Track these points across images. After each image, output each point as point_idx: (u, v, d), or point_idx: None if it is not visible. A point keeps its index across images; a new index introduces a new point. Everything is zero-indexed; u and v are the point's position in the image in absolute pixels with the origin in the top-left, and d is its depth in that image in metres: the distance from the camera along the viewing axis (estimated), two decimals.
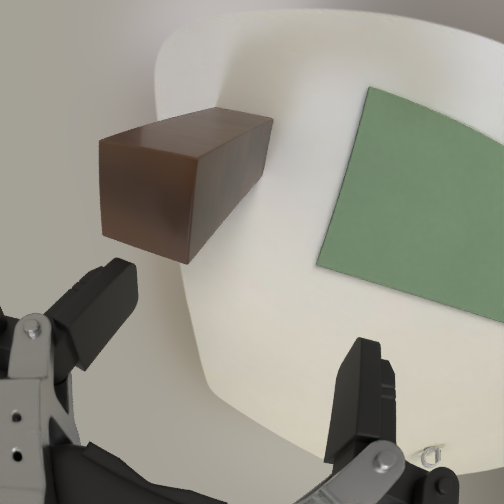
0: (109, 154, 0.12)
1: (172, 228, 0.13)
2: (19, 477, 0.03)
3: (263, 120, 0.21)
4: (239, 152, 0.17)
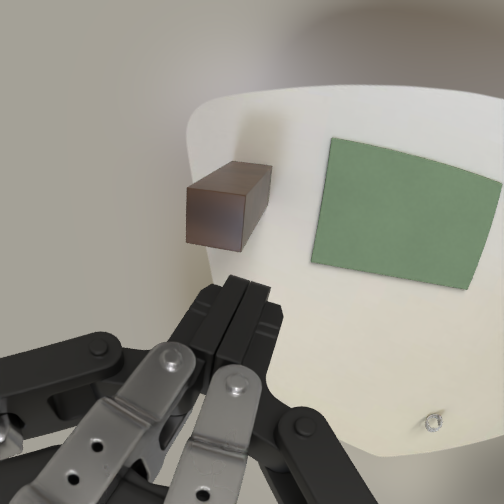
0: (194, 195, 0.25)
1: (232, 232, 0.26)
2: (61, 496, 0.03)
3: (266, 168, 0.35)
4: (258, 190, 0.30)
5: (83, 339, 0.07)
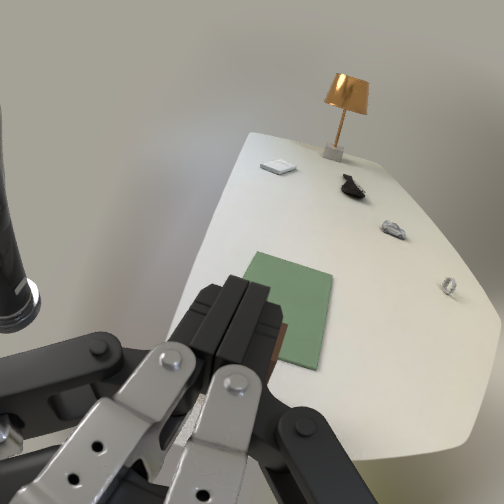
0: None
1: None
2: (61, 496, 0.03)
3: None
4: None
5: (83, 339, 0.07)
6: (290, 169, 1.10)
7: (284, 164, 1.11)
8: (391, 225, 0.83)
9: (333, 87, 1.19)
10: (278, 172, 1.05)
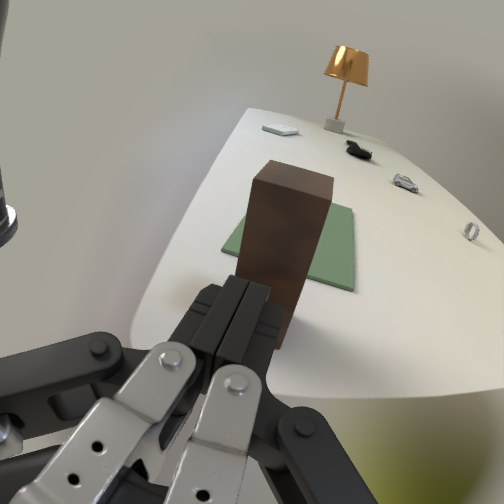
0: (264, 177, 0.19)
1: (311, 174, 0.22)
2: (61, 496, 0.03)
3: None
4: None
5: (83, 339, 0.07)
6: (293, 132, 1.03)
7: (286, 128, 1.04)
8: (403, 178, 0.76)
9: (333, 59, 1.13)
10: (281, 133, 0.97)
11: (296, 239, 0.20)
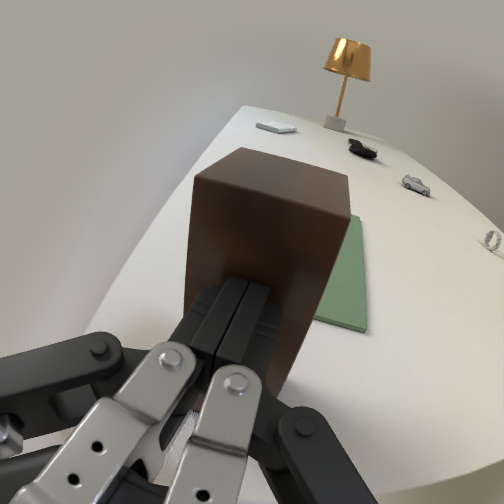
0: (218, 173, 0.10)
1: (309, 169, 0.13)
2: (61, 496, 0.03)
3: None
4: None
5: (83, 339, 0.07)
6: (290, 130, 0.94)
7: (283, 125, 0.95)
8: (413, 179, 0.66)
9: (333, 52, 1.04)
10: (277, 130, 0.88)
11: (280, 291, 0.11)
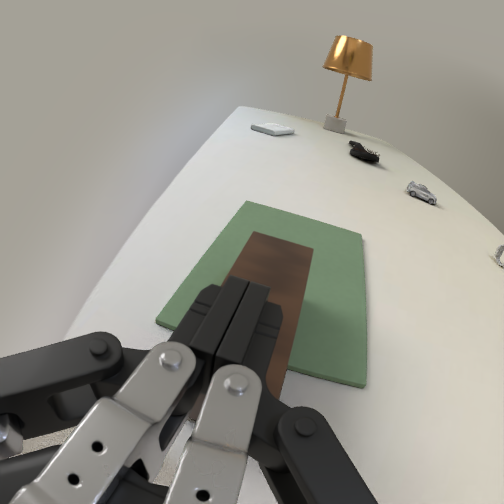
0: None
1: None
2: (61, 496, 0.03)
3: None
4: None
5: (83, 339, 0.07)
6: (287, 132, 0.89)
7: (280, 127, 0.90)
8: (419, 186, 0.61)
9: (333, 50, 0.99)
10: (273, 132, 0.83)
11: (289, 265, 0.22)
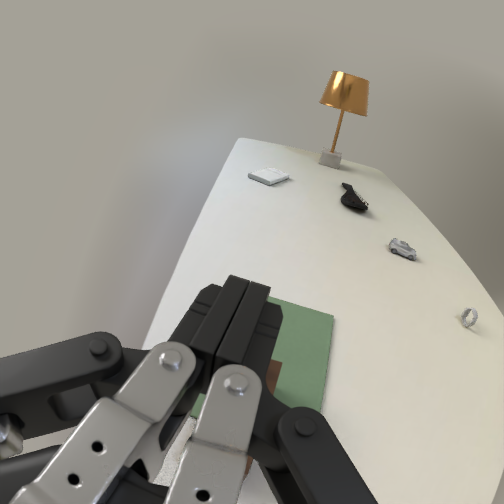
0: None
1: None
2: (61, 496, 0.03)
3: None
4: None
5: (83, 339, 0.07)
6: (282, 179, 0.98)
7: (275, 173, 0.99)
8: (400, 244, 0.70)
9: (329, 86, 1.08)
10: (268, 182, 0.92)
11: None
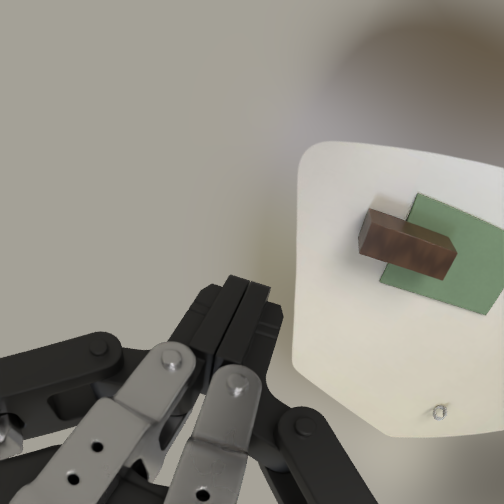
0: None
1: None
2: (61, 496, 0.03)
3: (382, 213, 0.42)
4: None
5: (83, 339, 0.07)
6: None
7: None
8: None
9: None
10: None
11: (429, 267, 0.39)
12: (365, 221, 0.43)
